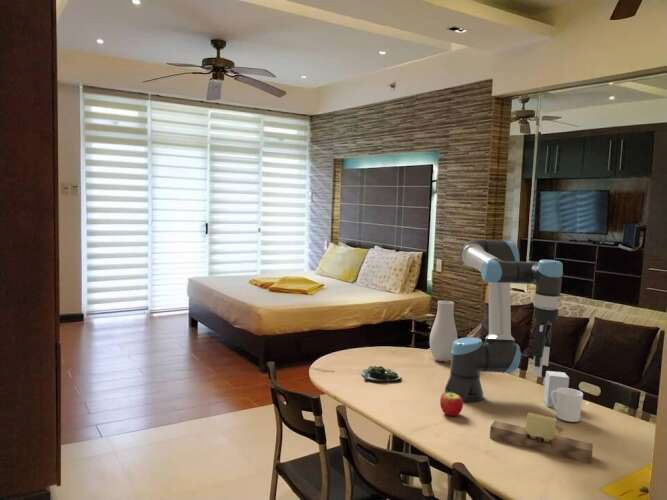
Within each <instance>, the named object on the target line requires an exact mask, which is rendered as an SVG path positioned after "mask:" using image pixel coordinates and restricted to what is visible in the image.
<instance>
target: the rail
mask: <svg viewBox="0 0 667 500" xmlns="http://www.w3.org/2000/svg"><path fill="white" fill-rule="evenodd" d="M489 429H490V431H489V439H492V440H496V441H499V442H504V443H507V444H513V445H515V446H518V447H523V448H527V449H531V450H535V451H539V452H543V453H546V454H547V453H548V454H550V455H554V456H559V457H562V458H565V459H566V458H567V459H569V460H574V461H577V462H582V463H586V464H589V465H591V463H592V458H593V457H592V456H593V448H594V447H593V446H594V444H593V443H590V442H586V441H582V440H578V439H573V438H570V437H565V436H562V435H557V434H555V438H554V440H550V444H549V443H545V442H544V438H542V437H538V436H536V440H532V439H530V434H526V427H524V426H519V425H515V424H511V423H507V422H503V421H498V420H493V422H492V424H491V425H490V428H489Z"/></svg>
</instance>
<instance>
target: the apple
mask: <svg viewBox="0 0 667 500" xmlns="http://www.w3.org/2000/svg"><path fill="white" fill-rule="evenodd" d="M448 388H449V387H448ZM449 389H450V388H449ZM450 391H451V390H450ZM439 399H440V400H439V402H440V403H439V405H440V408H441V411H442V413H443V414H445V415H446V416H450V417H455V416H458V415H459V414H461V412H462V410H463V406H464V402H463V400H462V398H461V397H460V396H459V395H457V394H455V393H452V392H451V393H445V392H444V393H442V394H441V396H440V398H439Z"/></svg>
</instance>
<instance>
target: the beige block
mask: <svg viewBox="0 0 667 500" xmlns="http://www.w3.org/2000/svg"><path fill="white" fill-rule="evenodd" d="M557 420H558V419H557V417H556V418H555V417H551V416H547V415H543V414H538V413H535V412H534V413H533V412H528V413H527V414H526V425H525V428H526V434H530V439H532V440H536V436H538V437H542V438H544V442H545V443H549V444H550V440H554V438H555V435H556V429H557Z"/></svg>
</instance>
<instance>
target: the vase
mask: <svg viewBox="0 0 667 500" xmlns="http://www.w3.org/2000/svg"><path fill="white" fill-rule="evenodd" d="M454 307H455V302H453V301H450V300H438V301H437V311H436V316H435V319H434V322H433V324H432V327H431V331H430V334H429V348H430V353H431V354H432V357H433V358H434V359H435V360H436V361H438V362H441V361H444V362H443V363H446V362H445V361H447V362H450V361H451V356H452V353H451V351H452V345H453V342H454V341H455V340H457V339H459V338H458V331H457V327H456V321H455V317H454V316H455V315H454V309H455V308H454Z"/></svg>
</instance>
